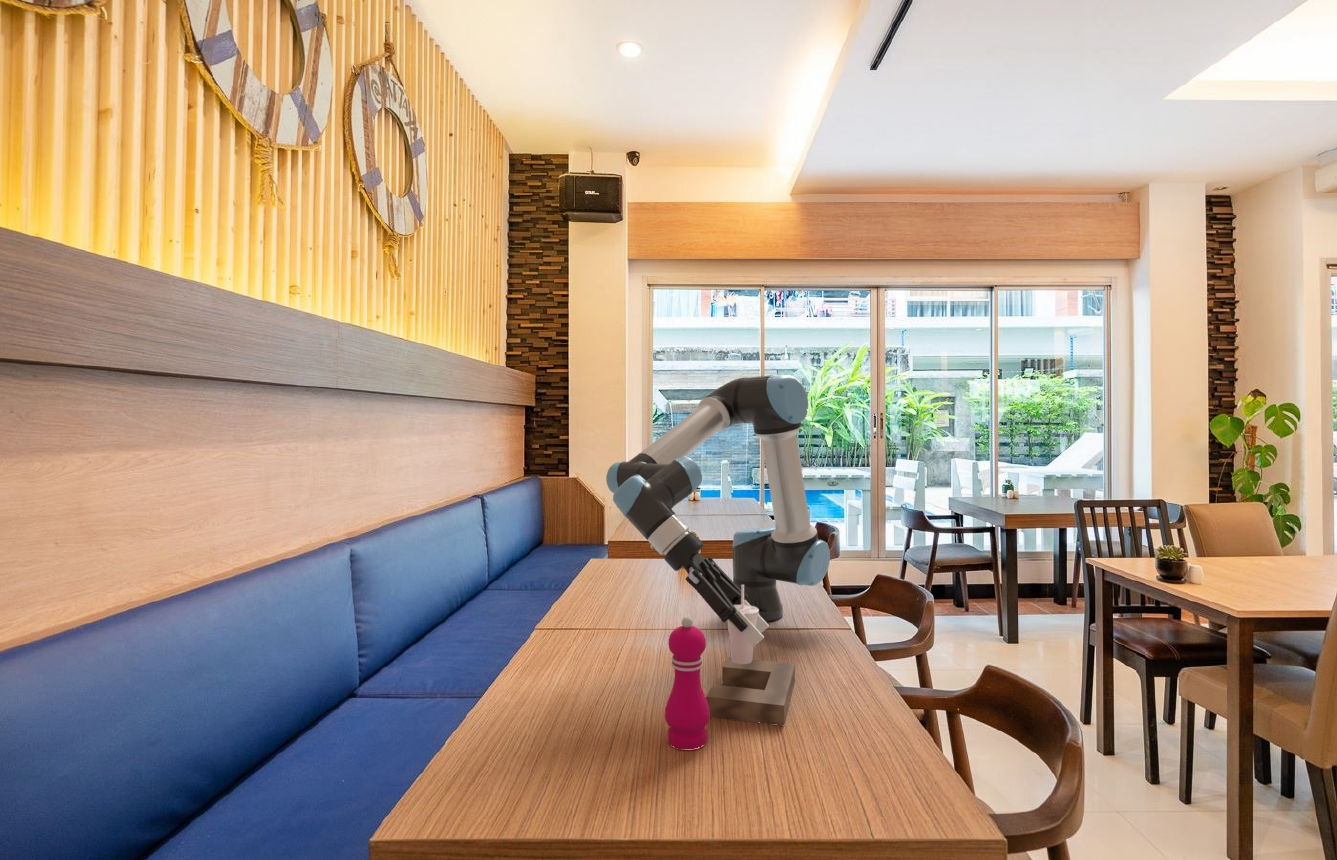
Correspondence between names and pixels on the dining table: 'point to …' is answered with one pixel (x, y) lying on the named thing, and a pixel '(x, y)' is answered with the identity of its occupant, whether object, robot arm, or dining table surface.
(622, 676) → the dining table surface
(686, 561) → the robot arm
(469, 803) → the dining table surface
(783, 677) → the notched board
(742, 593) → the smoothie
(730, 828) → the dining table surface
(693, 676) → the pepper mill
